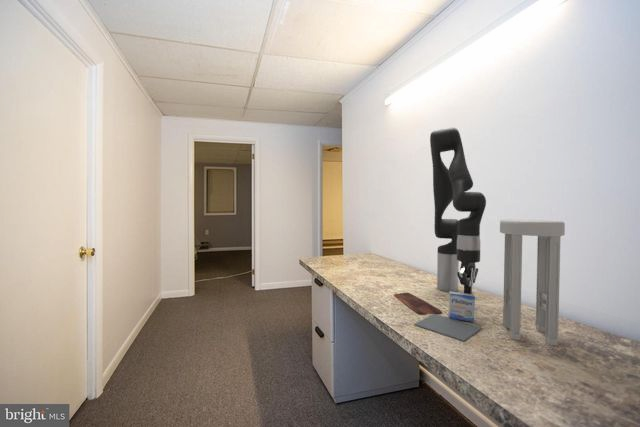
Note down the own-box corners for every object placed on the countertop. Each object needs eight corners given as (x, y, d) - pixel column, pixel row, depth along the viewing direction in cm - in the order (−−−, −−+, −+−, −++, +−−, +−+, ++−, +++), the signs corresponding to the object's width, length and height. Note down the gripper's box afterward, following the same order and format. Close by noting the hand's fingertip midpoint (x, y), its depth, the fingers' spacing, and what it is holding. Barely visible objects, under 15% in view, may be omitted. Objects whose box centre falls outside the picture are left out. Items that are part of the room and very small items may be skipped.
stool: (504, 340, 86) (506, 221, 85) (494, 321, 101) (496, 219, 100) (570, 350, 81) (573, 222, 80) (550, 328, 95) (552, 220, 94)
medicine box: (448, 318, 102) (449, 293, 102) (448, 314, 106) (449, 290, 106) (474, 322, 99) (475, 296, 99) (472, 318, 103) (473, 293, 104)
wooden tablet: (390, 291, 132) (411, 288, 134) (390, 296, 133) (411, 292, 134) (418, 313, 106) (444, 308, 108) (419, 319, 106) (444, 314, 108)
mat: (434, 314, 107) (434, 313, 107) (482, 328, 95) (482, 327, 95) (414, 325, 97) (414, 323, 97) (464, 341, 86) (464, 340, 86)
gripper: (465, 245, 113) (464, 290, 113) (449, 248, 104) (448, 297, 104) (486, 247, 107) (485, 294, 107) (472, 250, 98) (471, 302, 99)
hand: (467, 296), depth 106 cm, fingers closed
